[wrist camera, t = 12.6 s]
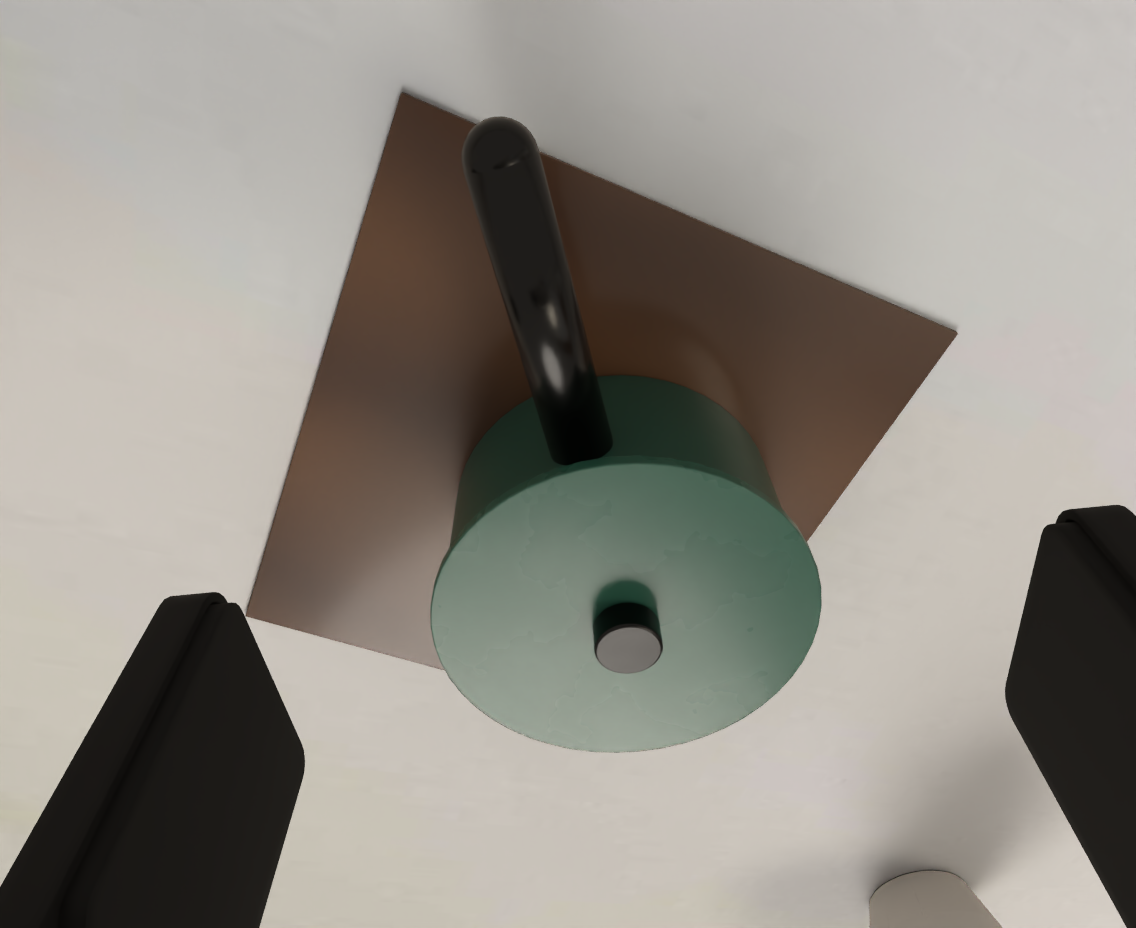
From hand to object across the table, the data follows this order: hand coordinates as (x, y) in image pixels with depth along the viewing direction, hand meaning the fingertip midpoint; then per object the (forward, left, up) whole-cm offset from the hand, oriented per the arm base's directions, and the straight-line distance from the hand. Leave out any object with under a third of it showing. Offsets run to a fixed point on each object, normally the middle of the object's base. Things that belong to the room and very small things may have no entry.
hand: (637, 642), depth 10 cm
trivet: (+9, +3, -17) cm, 19 cm away
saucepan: (+6, +3, -17) cm, 18 cm away
